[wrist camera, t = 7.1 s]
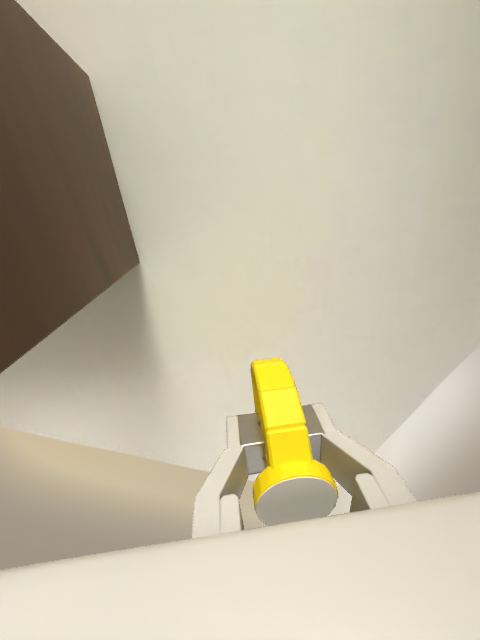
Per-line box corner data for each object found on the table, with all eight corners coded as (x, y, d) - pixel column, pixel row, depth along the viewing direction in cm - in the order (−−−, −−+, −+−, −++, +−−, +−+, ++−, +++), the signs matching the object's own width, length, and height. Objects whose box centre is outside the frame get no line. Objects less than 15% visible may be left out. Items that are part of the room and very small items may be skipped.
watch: (291, 422, 15) (334, 547, 9) (245, 428, 15) (262, 559, 9) (289, 334, 12) (347, 440, 7) (233, 342, 12) (247, 455, 7)
